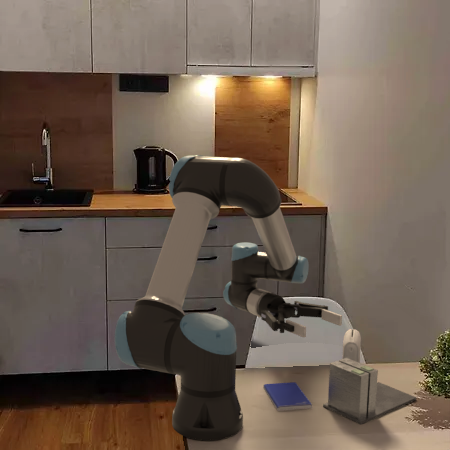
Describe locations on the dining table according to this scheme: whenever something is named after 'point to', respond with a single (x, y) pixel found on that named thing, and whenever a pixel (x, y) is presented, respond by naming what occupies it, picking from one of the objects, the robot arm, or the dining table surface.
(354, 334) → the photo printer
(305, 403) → the hard drive
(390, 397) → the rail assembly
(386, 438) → the dining table surface
